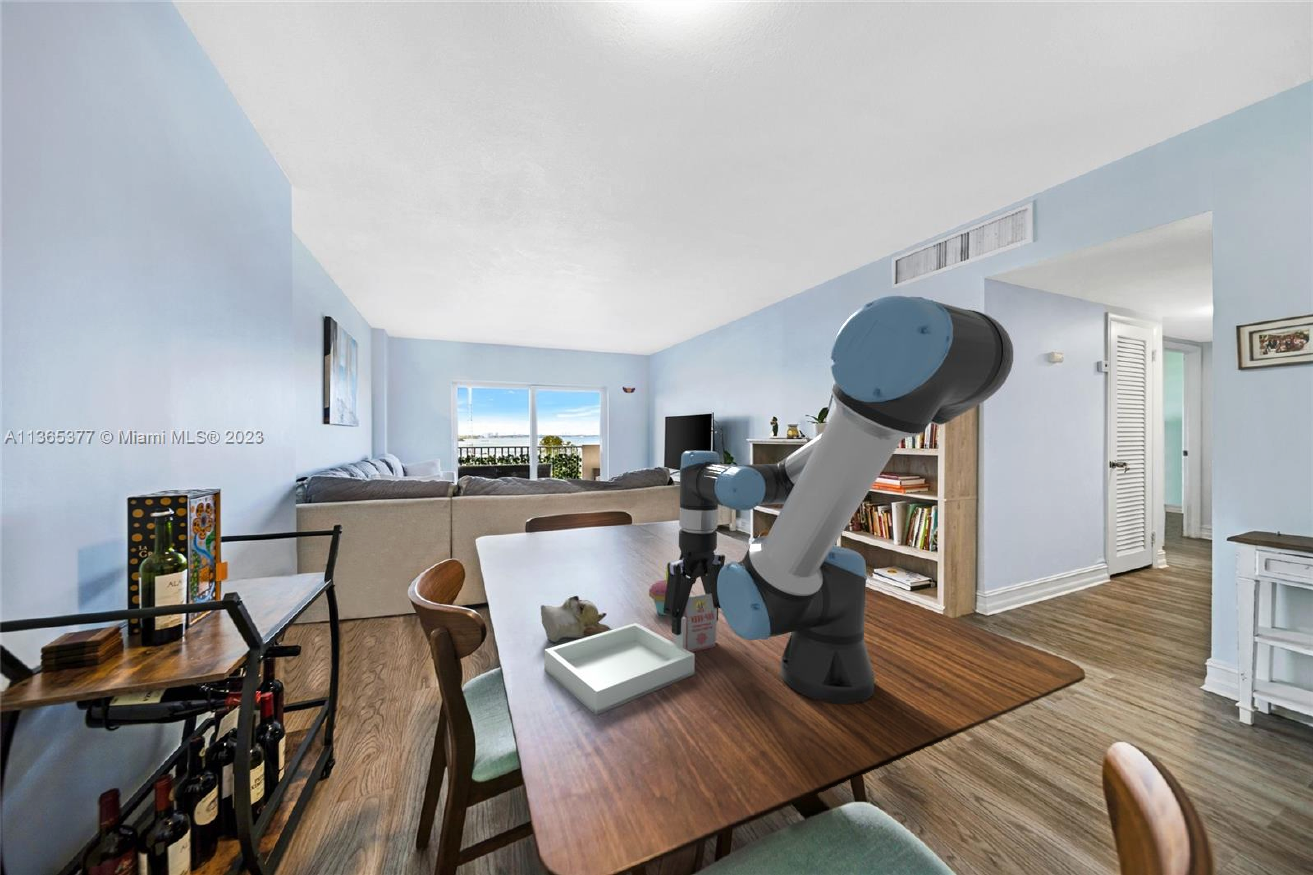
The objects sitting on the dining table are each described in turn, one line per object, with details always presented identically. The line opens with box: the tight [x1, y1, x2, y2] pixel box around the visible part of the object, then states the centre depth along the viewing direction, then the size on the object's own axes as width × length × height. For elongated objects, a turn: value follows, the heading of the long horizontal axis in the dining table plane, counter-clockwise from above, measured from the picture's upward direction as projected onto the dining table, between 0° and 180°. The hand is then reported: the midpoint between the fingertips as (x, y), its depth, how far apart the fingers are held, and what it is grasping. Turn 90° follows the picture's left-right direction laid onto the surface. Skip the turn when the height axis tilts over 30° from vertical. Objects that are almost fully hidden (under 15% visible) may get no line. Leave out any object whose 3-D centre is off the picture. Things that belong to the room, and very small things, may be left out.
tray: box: [543, 622, 696, 716], centre depth 84 cm, size 17×20×4 cm
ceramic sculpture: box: [540, 595, 614, 643], centre depth 98 cm, size 11×9×15 cm
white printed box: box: [683, 593, 717, 653], centre depth 95 cm, size 4×7×10 cm, turn 116°
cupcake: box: [648, 562, 678, 616], centre depth 113 cm, size 9×8×12 cm
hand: (695, 643), depth 95 cm, fingers open, 8 cm apart
